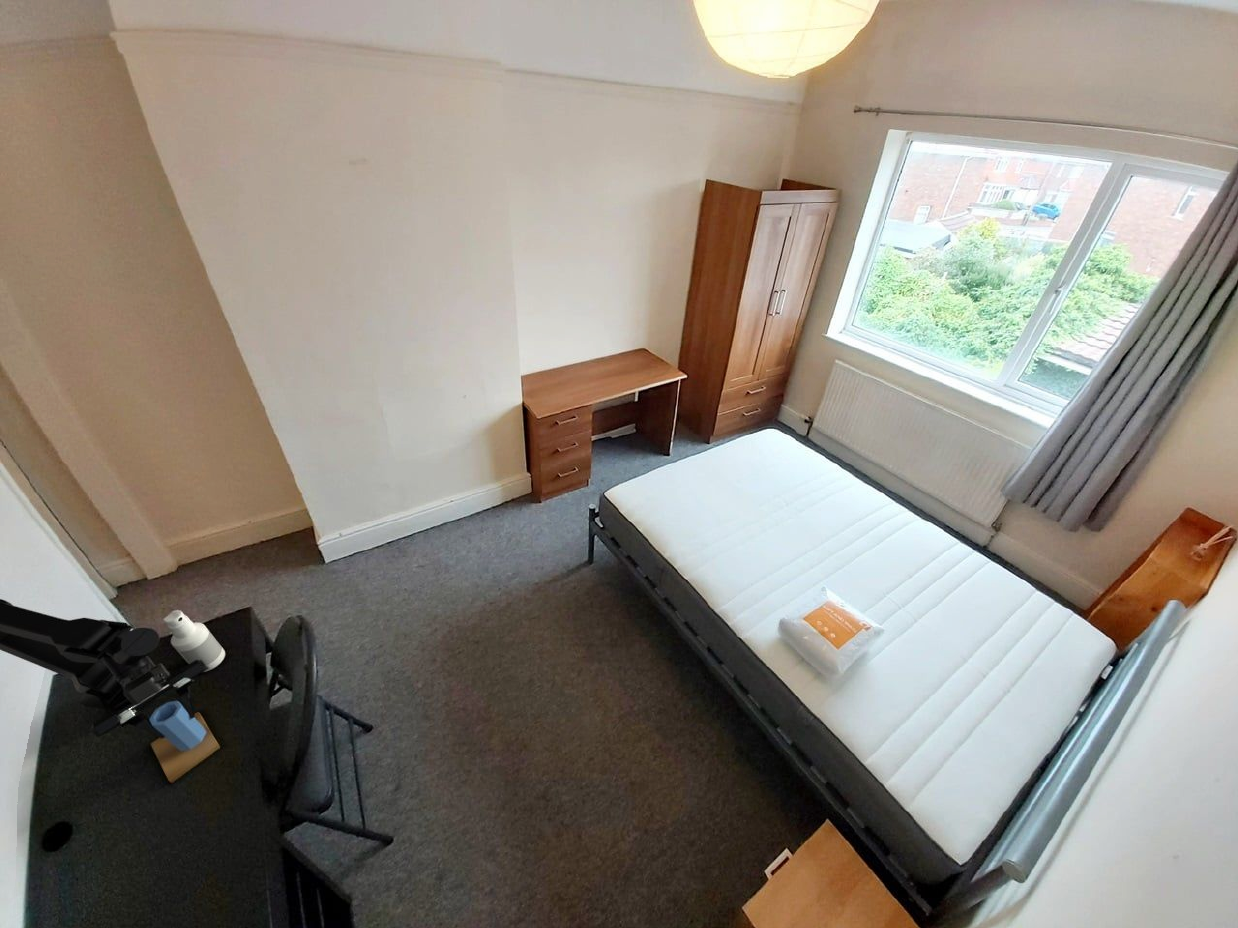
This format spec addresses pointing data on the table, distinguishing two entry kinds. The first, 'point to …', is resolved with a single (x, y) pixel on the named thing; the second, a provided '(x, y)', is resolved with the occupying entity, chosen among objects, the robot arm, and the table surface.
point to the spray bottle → (194, 640)
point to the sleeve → (177, 725)
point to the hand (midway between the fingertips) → (178, 727)
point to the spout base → (183, 753)
